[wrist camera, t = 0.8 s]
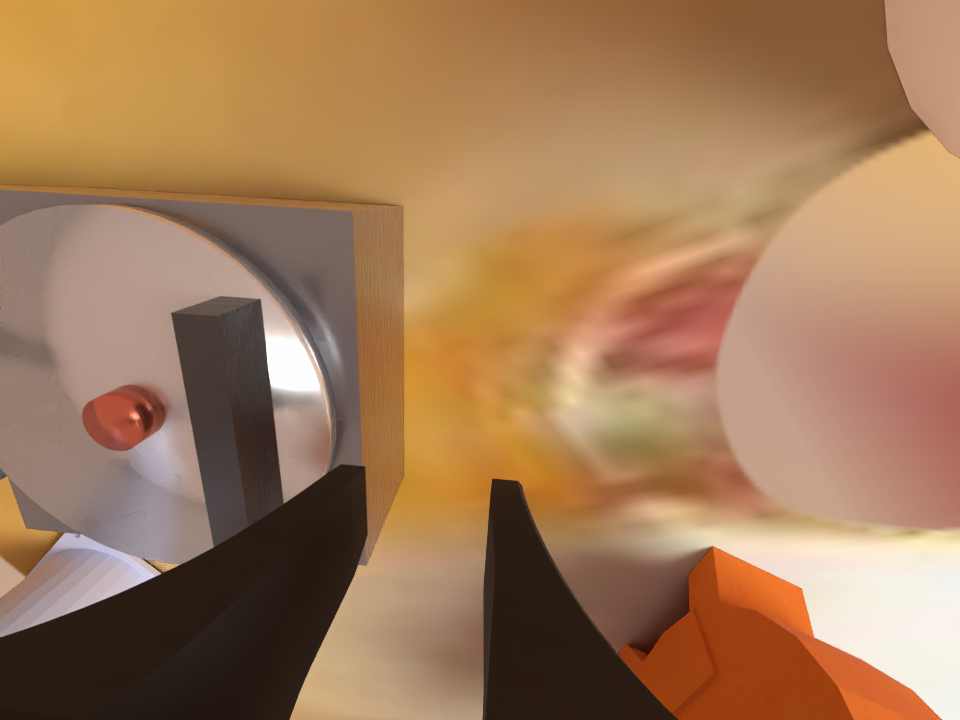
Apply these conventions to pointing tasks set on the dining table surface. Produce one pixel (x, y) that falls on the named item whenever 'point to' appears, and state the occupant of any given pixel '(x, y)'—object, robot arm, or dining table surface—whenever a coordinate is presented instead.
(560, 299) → the dining table surface
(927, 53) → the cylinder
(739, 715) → the orange lumpy piece
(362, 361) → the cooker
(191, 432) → the lid
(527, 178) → the dining table surface
